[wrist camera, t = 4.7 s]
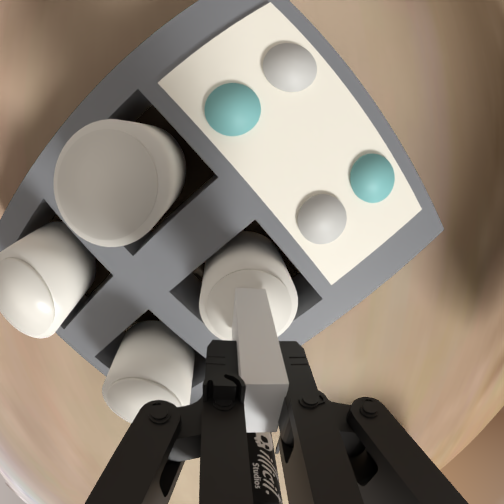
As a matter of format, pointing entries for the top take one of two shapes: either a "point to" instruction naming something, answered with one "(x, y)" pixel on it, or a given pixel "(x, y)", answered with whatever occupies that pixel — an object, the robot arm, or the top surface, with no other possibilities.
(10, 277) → the button
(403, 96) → the top surface
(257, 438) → the beverage can
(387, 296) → the top surface
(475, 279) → the top surface
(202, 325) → the board
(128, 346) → the button
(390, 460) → the robot arm
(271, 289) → the button
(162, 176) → the button
